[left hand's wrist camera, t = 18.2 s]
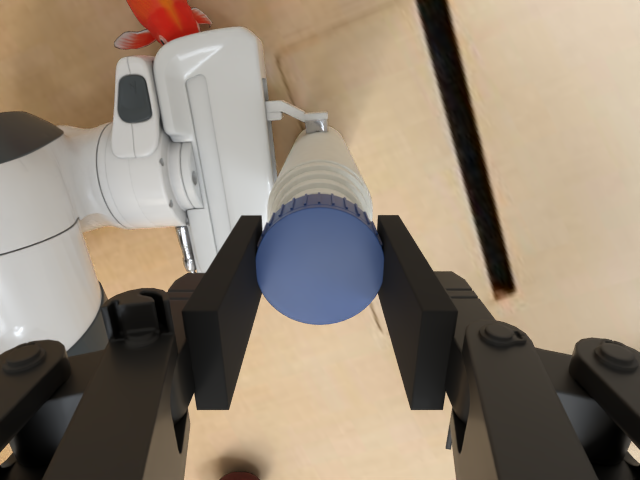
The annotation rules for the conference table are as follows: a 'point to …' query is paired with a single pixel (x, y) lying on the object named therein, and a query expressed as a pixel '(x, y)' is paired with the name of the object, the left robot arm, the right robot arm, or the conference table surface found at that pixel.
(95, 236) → the conference table surface
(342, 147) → the bottle
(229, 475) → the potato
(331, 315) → the cap
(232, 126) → the right robot arm
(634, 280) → the conference table surface
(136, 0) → the fish
